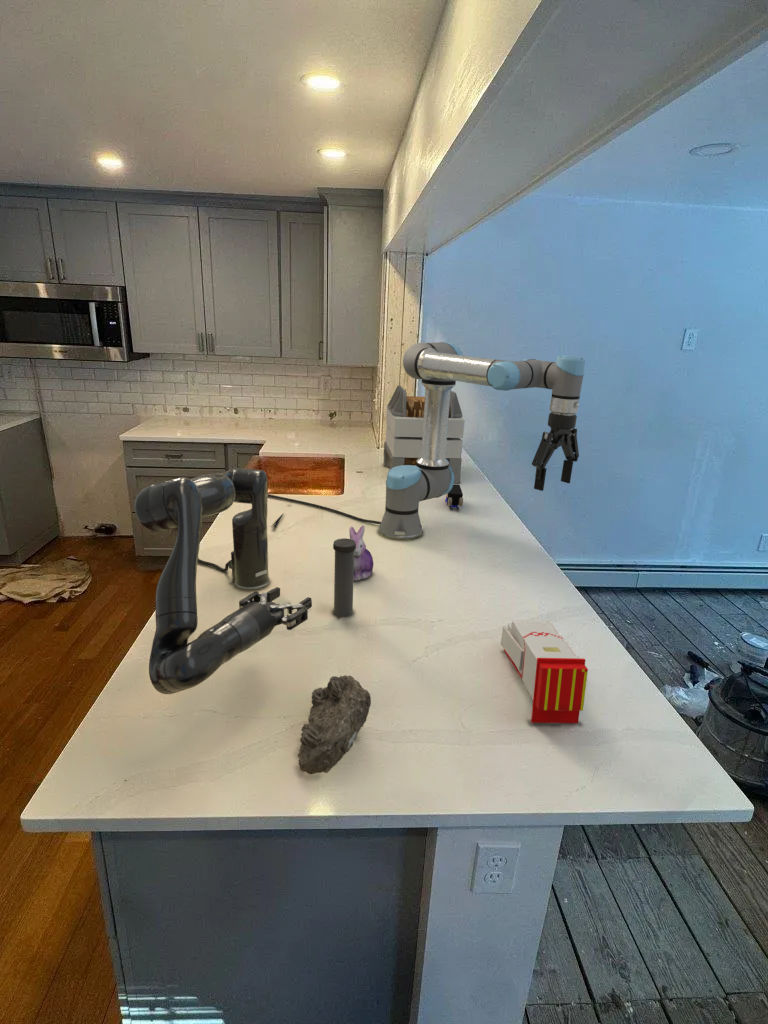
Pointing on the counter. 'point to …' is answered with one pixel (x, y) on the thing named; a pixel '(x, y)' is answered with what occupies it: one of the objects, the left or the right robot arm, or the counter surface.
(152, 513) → the left robot arm
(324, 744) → the fossil
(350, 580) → the dark grey cylinder
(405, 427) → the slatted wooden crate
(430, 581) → the counter surface
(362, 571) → the figurine
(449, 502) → the figurine character
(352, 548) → the lid
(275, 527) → the dark tapered rod
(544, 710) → the toy
